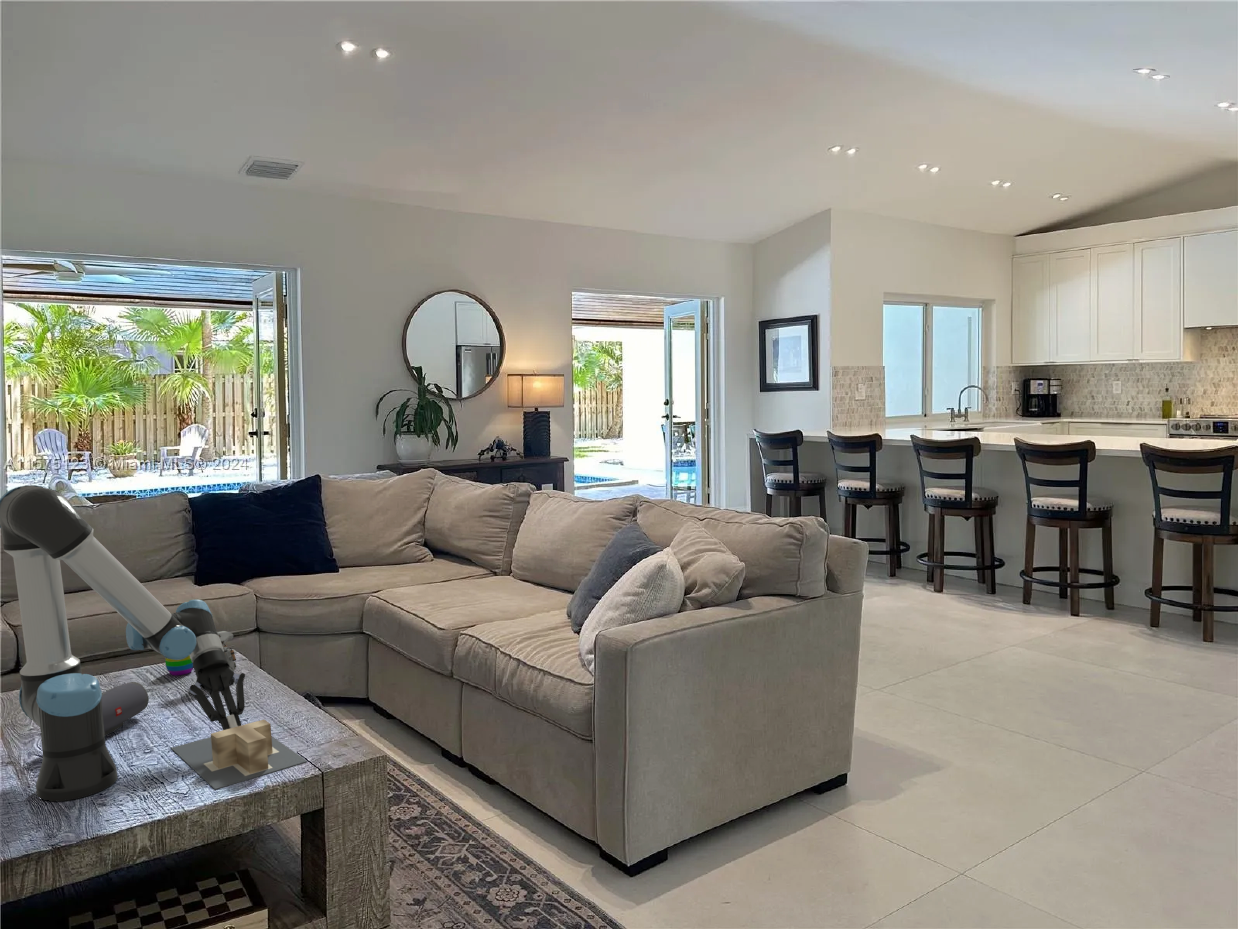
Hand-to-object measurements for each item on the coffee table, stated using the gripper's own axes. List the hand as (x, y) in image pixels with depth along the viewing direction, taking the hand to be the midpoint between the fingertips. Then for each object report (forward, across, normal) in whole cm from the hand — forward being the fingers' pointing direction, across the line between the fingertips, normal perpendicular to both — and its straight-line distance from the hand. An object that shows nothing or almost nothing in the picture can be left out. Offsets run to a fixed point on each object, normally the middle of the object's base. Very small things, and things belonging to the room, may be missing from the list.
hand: (237, 742), depth 213 cm
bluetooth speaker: (-26, +19, -31) cm, 45 cm away
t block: (+7, 0, +3) cm, 8 cm away
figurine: (-40, -14, -45) cm, 62 cm away
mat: (+2, 0, -2) cm, 3 cm away
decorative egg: (-54, -10, -59) cm, 80 cm away
